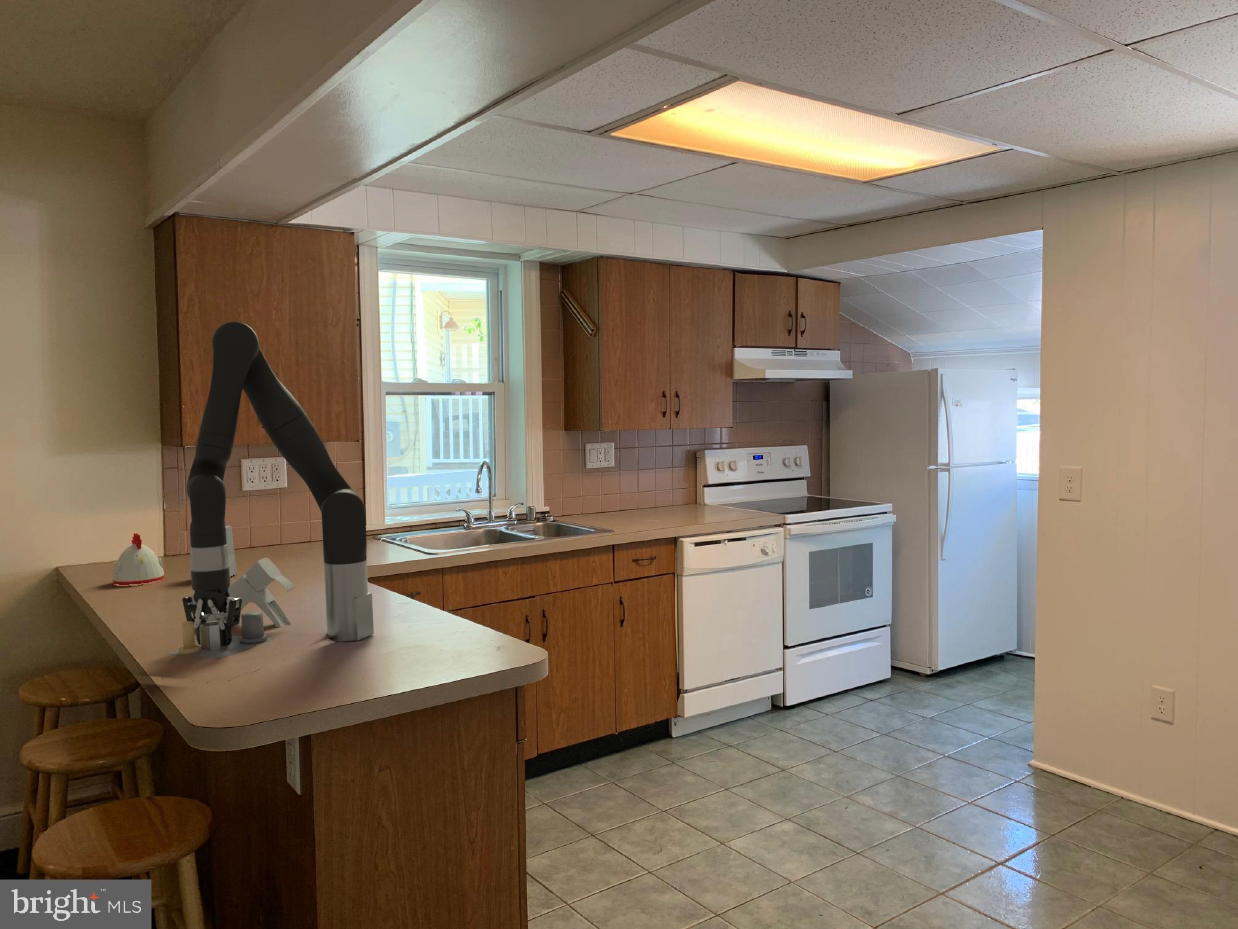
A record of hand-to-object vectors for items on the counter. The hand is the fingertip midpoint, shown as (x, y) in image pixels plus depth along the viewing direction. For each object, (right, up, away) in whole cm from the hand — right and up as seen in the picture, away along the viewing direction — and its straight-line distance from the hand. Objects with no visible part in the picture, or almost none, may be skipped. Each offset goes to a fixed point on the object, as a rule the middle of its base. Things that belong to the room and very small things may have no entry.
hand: (214, 644), depth 195 cm
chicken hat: (-60, +2, +83) cm, 102 cm away
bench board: (+1, -2, +1) cm, 2 cm away
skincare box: (-37, +3, +87) cm, 95 cm away
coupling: (0, 0, 0) cm, 0 cm away
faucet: (-1, -1, +20) cm, 20 cm away
